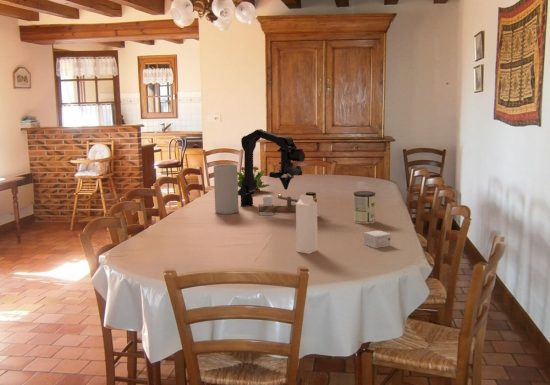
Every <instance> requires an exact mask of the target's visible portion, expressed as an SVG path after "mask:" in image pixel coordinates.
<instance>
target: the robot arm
mask: <svg viewBox="0 0 550 385" xmlns="http://www.w3.org/2000/svg"><path fill="white" fill-rule="evenodd" d="M261 139H263V140H267V141H268V142H272V143H274V144H275V145H277V146H278V147H279V148H278V149H277V152H278V153H280V162H279V163H278V164H279V165H280V169H279V170H278V171H275V170H274V171H270V172H269V174H268V175H269V178H273V179H279V180H280V181H281V184H282V186H283V189H284V190H285V191H286V190H288V188H289V185H290V182H291V180H292V179H293V178H295V176H296V177H297V176H303V170H302V166H300V165H297V166H295V165H294V162H299V163H303V162H304V161H305V159H306V154H305V152H304V149H303V148H298V147H297V146H296V144H295V142H294V139H293V137H292V136H288V135H287V136H286V135H278V134H274V133H272V132H270V131H267V130H263V129H261V128H260V129H259V128H258V129H255V130H254V131H252V132H251V133H249V134H247V135H244V136H242V137H241V140H240V142H241V148H242V149H243V151H244V158H243V159H244V161H243V162H244V164H243V165H244V166H243V167H244V171H243V172H244V179H243V181H242V185H241V188H240V187H239V188H238V197H239V196H240V207H252V206H253V204H254V197H253V195H254V194H255V192H254V191H255V190H256V187H257V180H255V179H254V178H253V173H254V169H253V167H254V150H255V148H256V146H257V143H258V141H260V140H261Z"/></svg>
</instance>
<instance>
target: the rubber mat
mask: <svg viewBox="0 0 550 385" xmlns="http://www.w3.org/2000/svg"><path fill="white" fill-rule="evenodd" d="M259 216H260V217H261V216H263V217H264V216H274V212H259Z"/></svg>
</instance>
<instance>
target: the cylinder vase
mask: <svg viewBox="0 0 550 385" xmlns="http://www.w3.org/2000/svg"><path fill="white" fill-rule="evenodd" d="M237 172H238V164H230V163H229V164H217V165H215V164H214V165H213V184H214V186H213V187H214V189H213V190H214V211H215V213H217V214H220V215H233V214H235V213H236V214H237V213H238V212H239V210H240V209H239V195H238V191H239V187H238V181H239V180H238V177H239V175H238V173H239V172H238V173H237Z"/></svg>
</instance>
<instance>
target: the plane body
mask: <svg viewBox="0 0 550 385" xmlns="http://www.w3.org/2000/svg"><path fill="white" fill-rule="evenodd" d="M286 198H287V200H286V203H272V206H264V203H263V204H258V213H260V212H273V213H275V212H278V213H279V212H296V203H292V201H291V198H292V196H287V197H286Z"/></svg>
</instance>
